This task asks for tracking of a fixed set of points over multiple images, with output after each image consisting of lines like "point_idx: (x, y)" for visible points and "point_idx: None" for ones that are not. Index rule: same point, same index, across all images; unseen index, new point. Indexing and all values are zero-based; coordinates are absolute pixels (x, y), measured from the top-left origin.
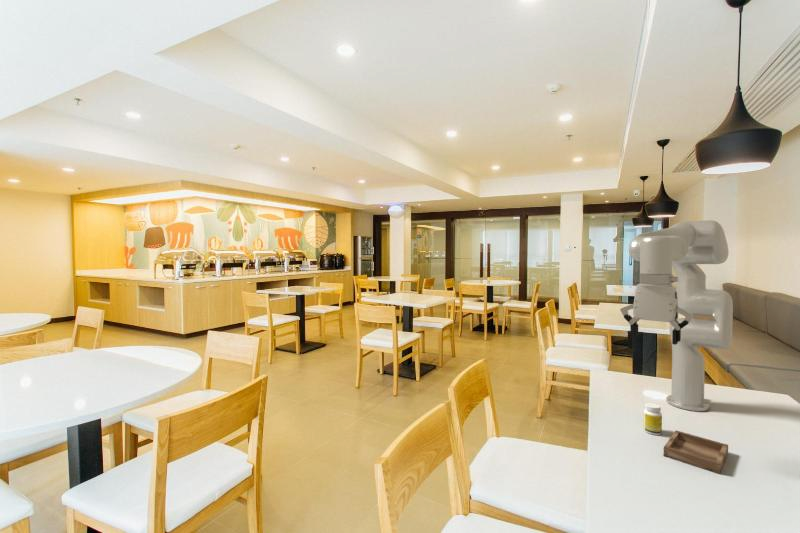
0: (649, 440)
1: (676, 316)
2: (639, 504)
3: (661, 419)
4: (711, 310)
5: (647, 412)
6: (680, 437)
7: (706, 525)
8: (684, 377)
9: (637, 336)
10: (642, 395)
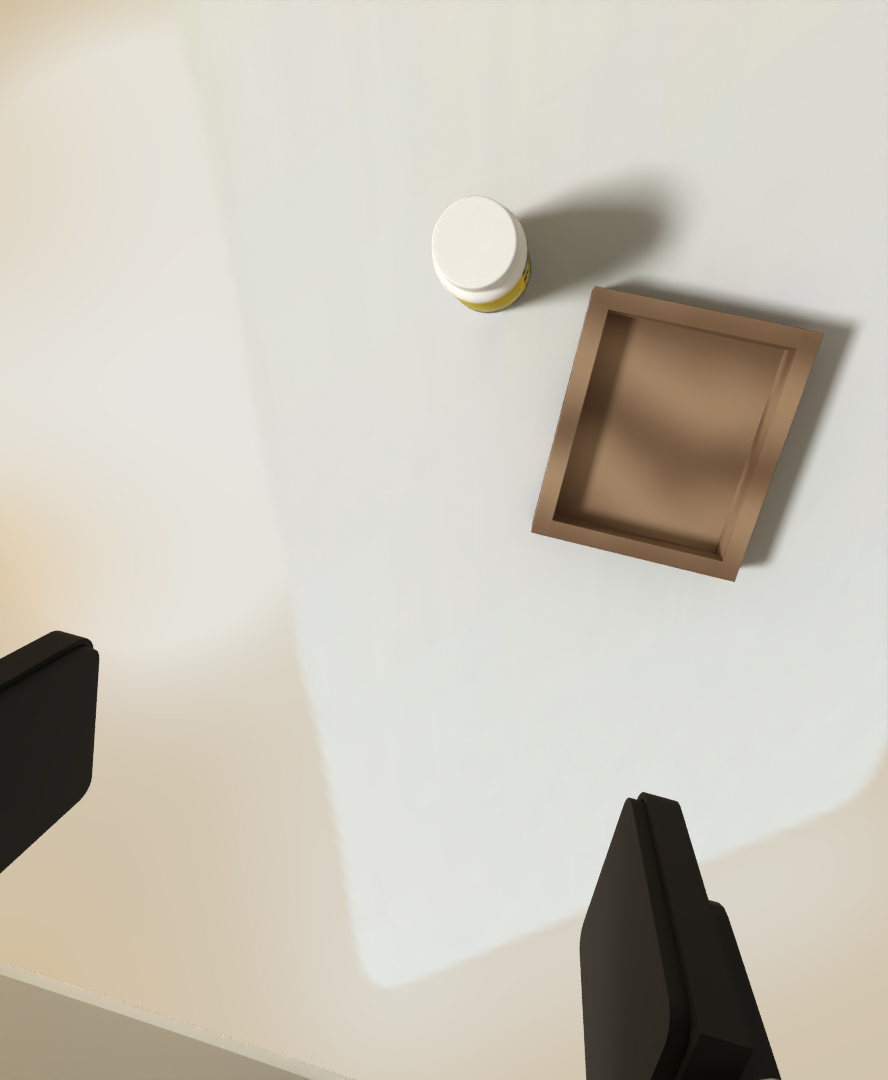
0: (478, 391)
1: None
2: (462, 873)
3: (526, 267)
4: None
5: (451, 287)
6: (612, 313)
7: None
8: None
9: (86, 688)
10: None
